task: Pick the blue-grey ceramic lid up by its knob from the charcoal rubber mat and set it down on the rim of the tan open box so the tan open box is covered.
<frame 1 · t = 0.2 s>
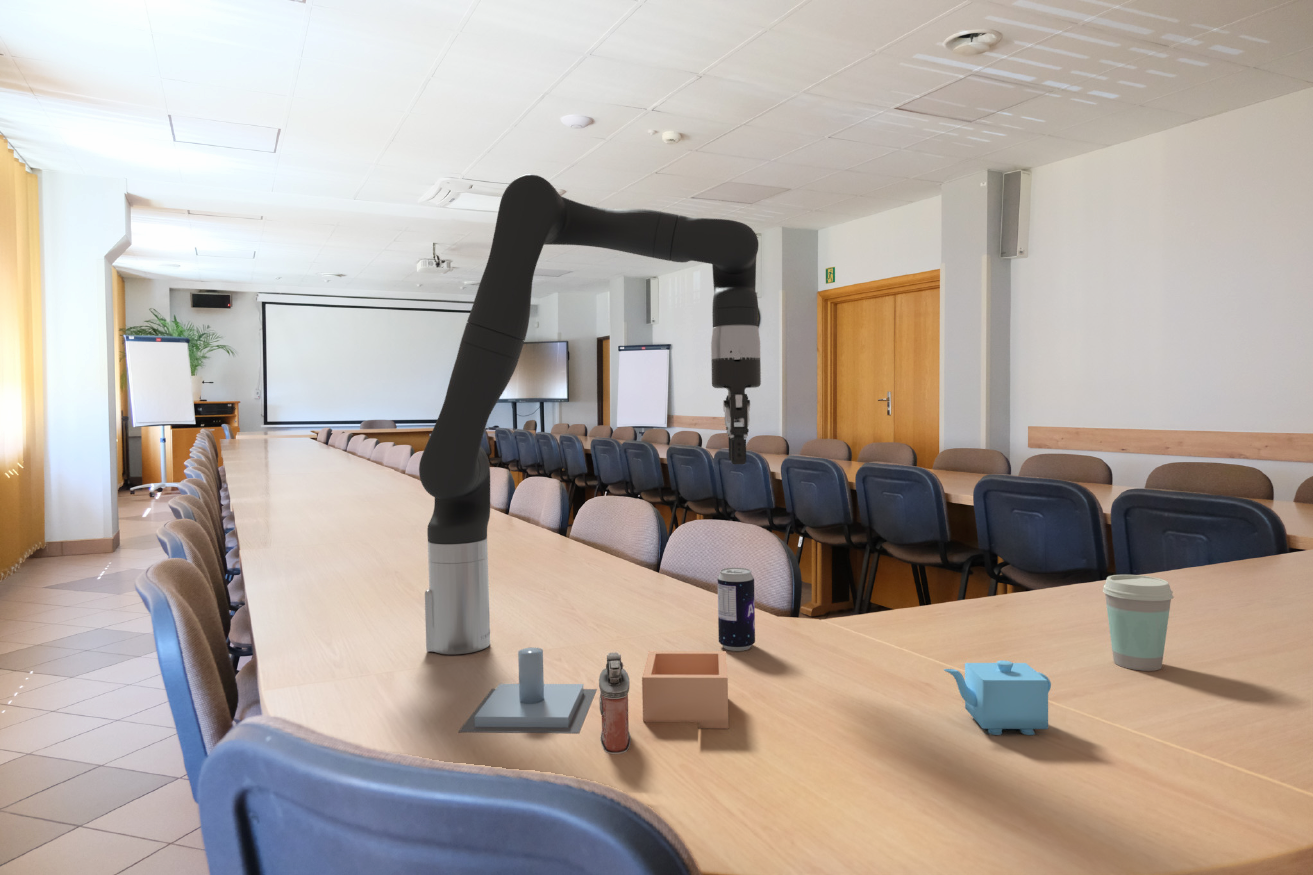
hand: (737, 462, 122), 29 cm above the table, fingers open, 8 cm apart
coffee cup: (1137, 665, 111), on the table
beverage can: (736, 648, 123), on the table
lid: (532, 709, 97), point 1 cm above the table, touching mat
mat: (532, 715, 97), on the table
tan open box: (686, 711, 97), on the table
teapot: (996, 727, 91), on the table
lighter: (615, 746, 88), on the table
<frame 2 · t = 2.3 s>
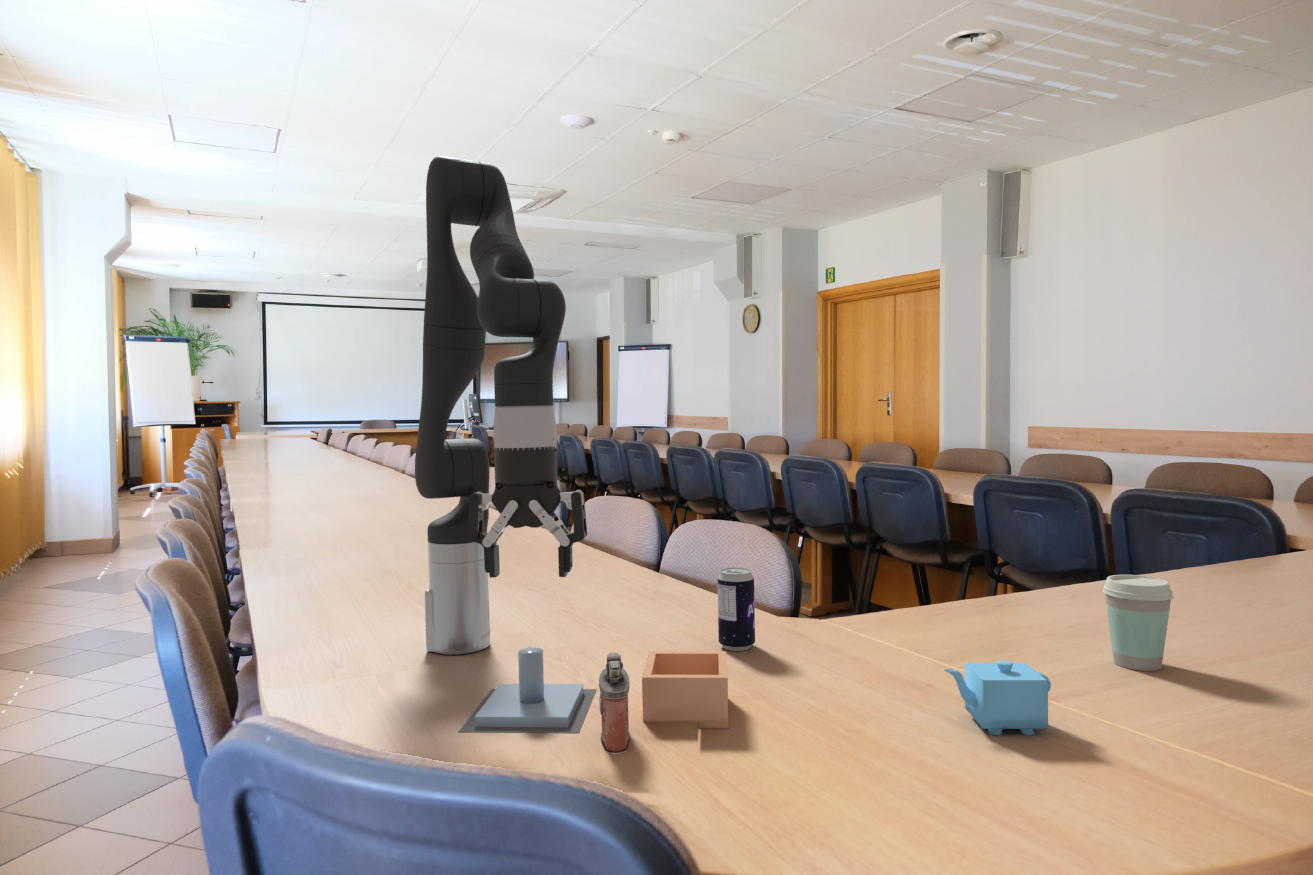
hand: (529, 576, 97), 17 cm above the table, fingers open, 8 cm apart
nothing on the table moved.
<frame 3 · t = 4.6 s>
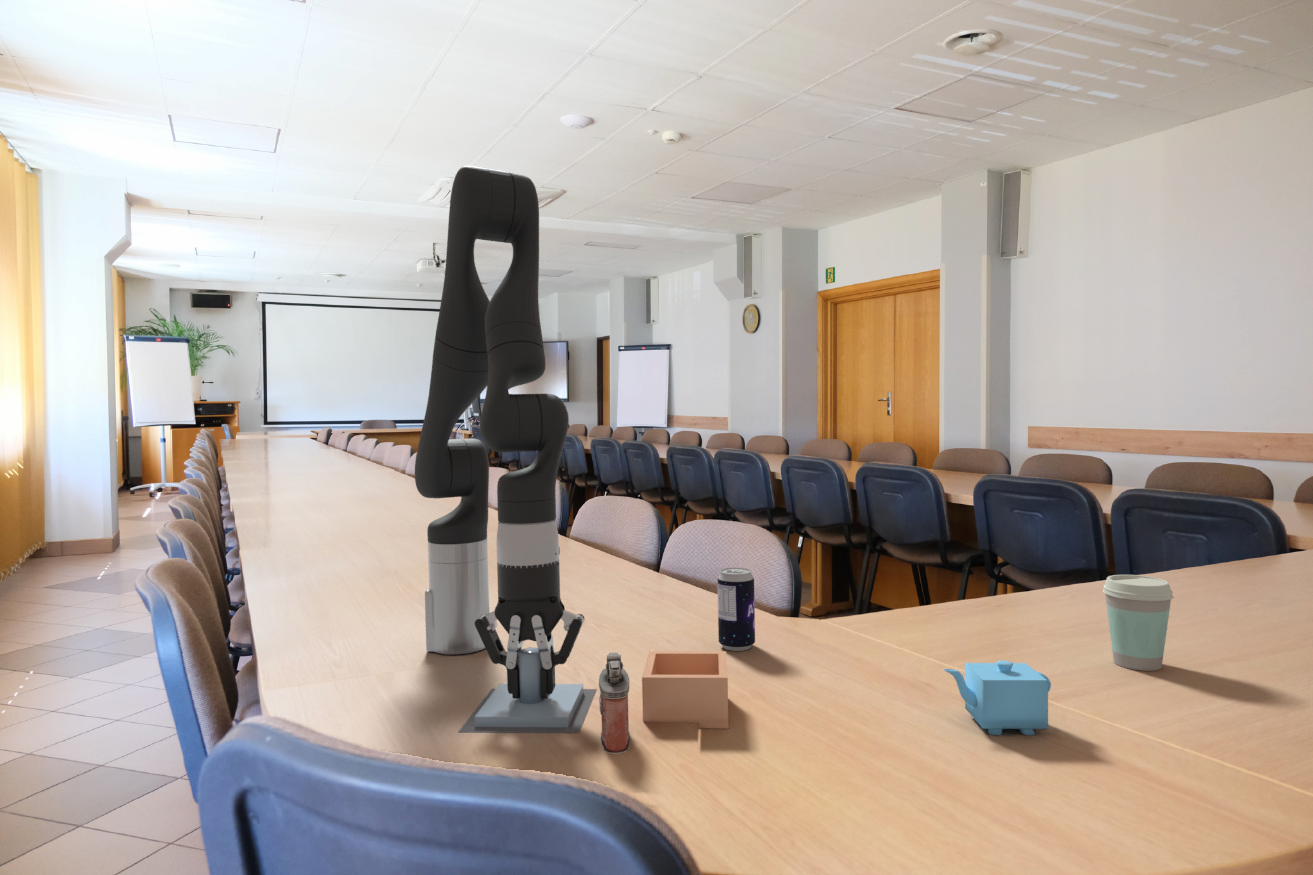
hand: (531, 695, 97), 2 cm above the table, fingers closed on lid, 3 cm apart
lid: (532, 709, 97), point 1 cm above the table, touching gripper, mat
everything else where it was.
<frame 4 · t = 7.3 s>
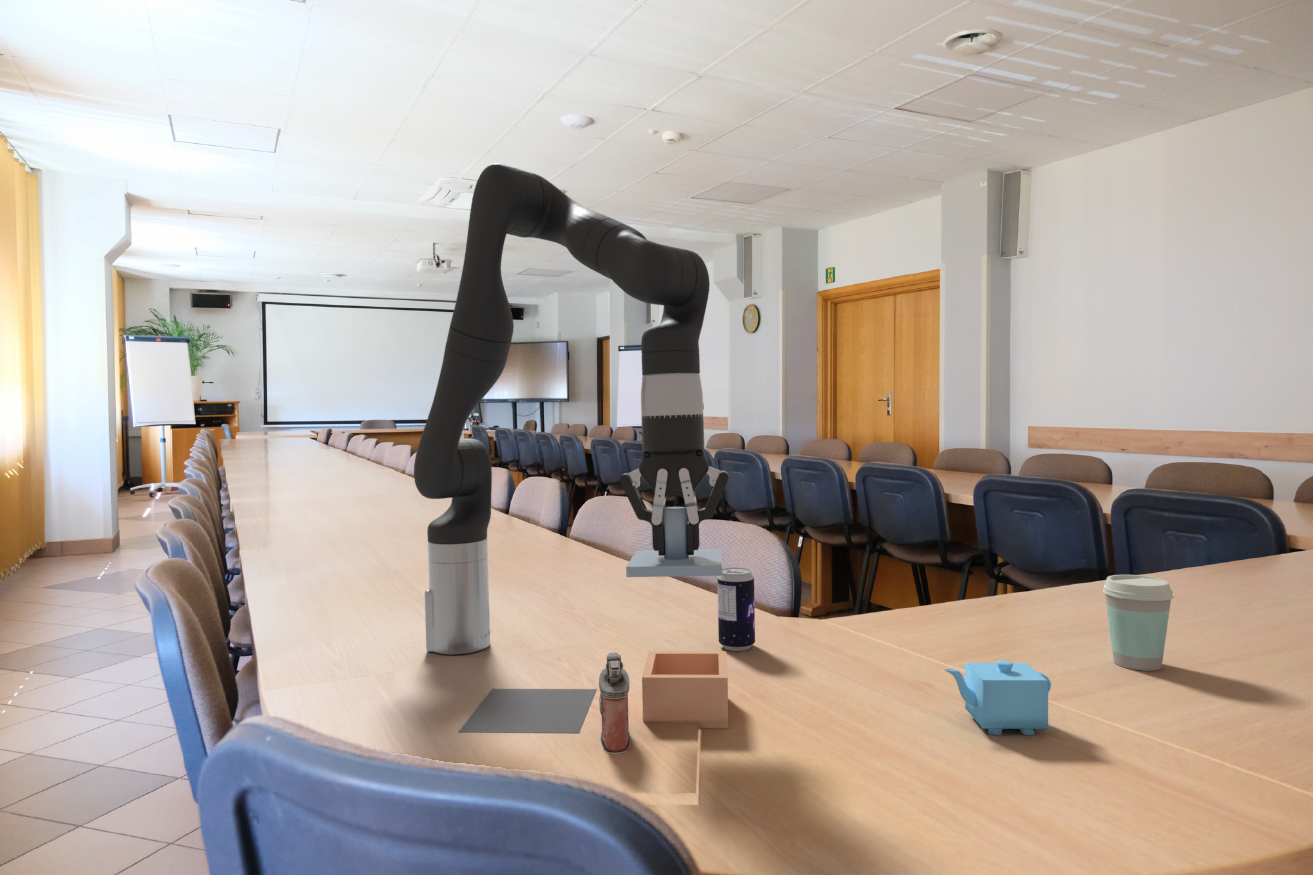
hand: (676, 553, 96), 20 cm above the table, fingers closed on lid, 3 cm apart
lid: (676, 567, 96), point 18 cm above the table, touching gripper
everything else where it was.
when the fingers open (9 cm above the table, at t = 10.1 s): lid stays where it is, resting on tan open box.
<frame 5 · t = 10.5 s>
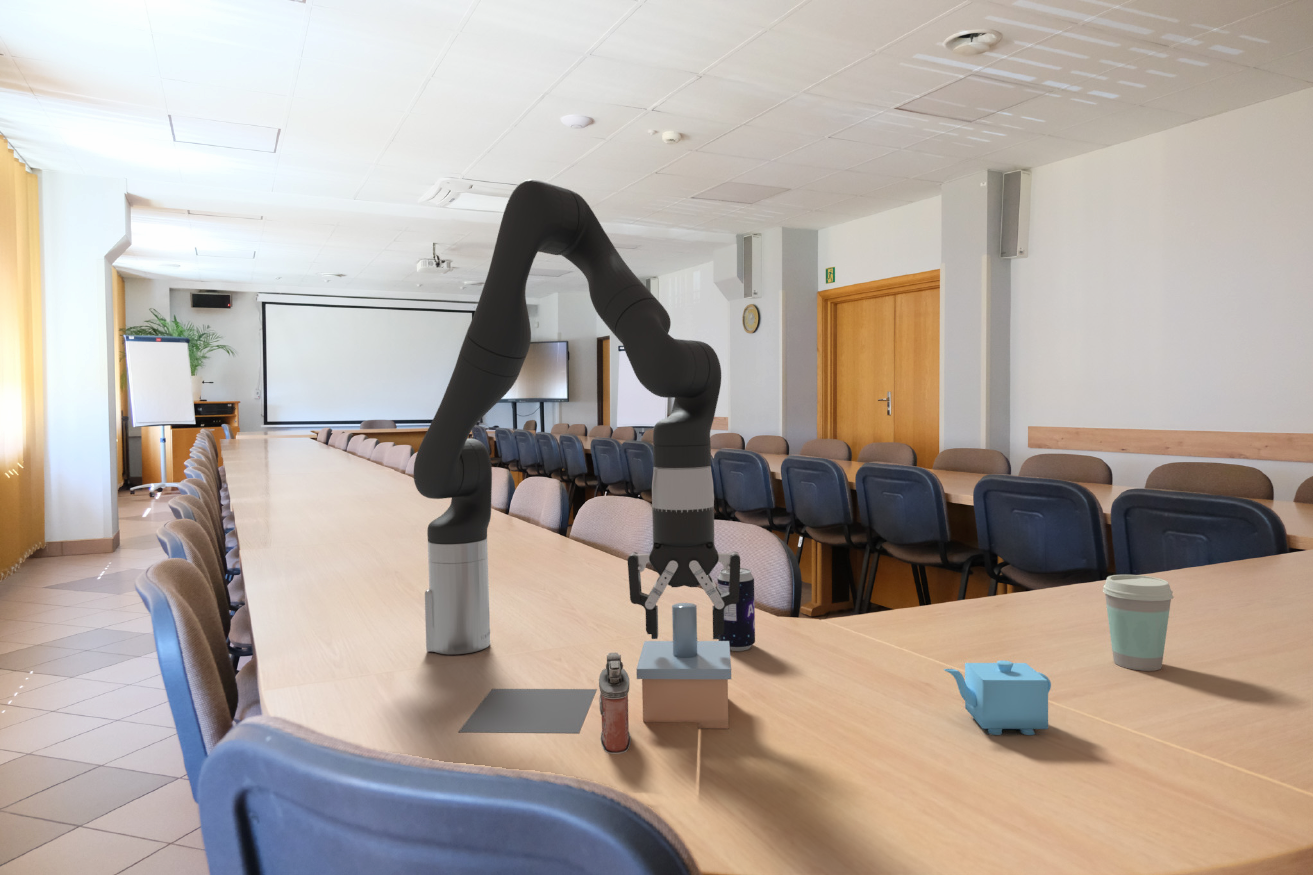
hand: (685, 637, 97), 9 cm above the table, fingers open, 7 cm apart
lid: (685, 663, 97), point 6 cm above the table, touching tan open box
everything else where it was.
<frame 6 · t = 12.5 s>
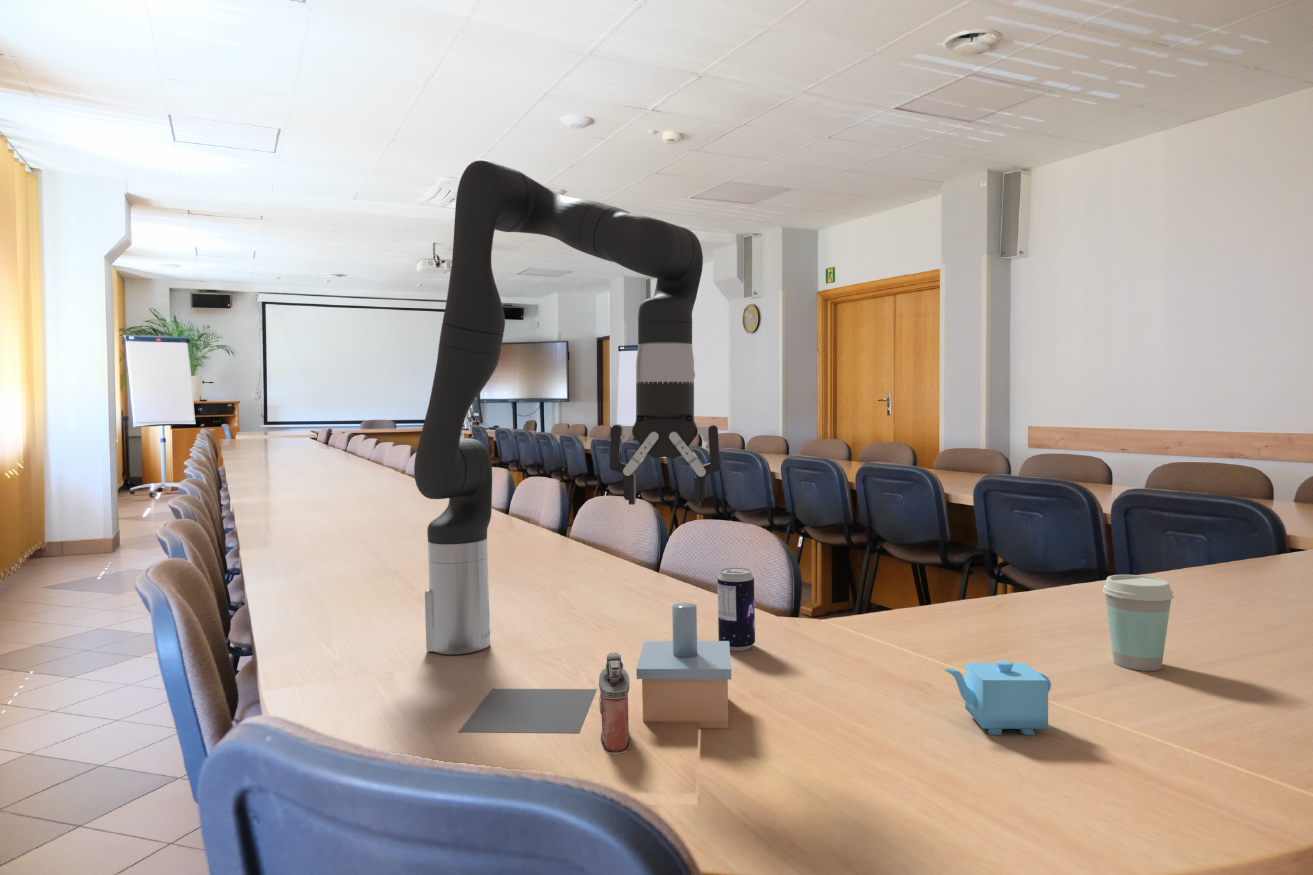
hand: (664, 504, 103), 25 cm above the table, fingers open, 8 cm apart
nothing on the table moved.
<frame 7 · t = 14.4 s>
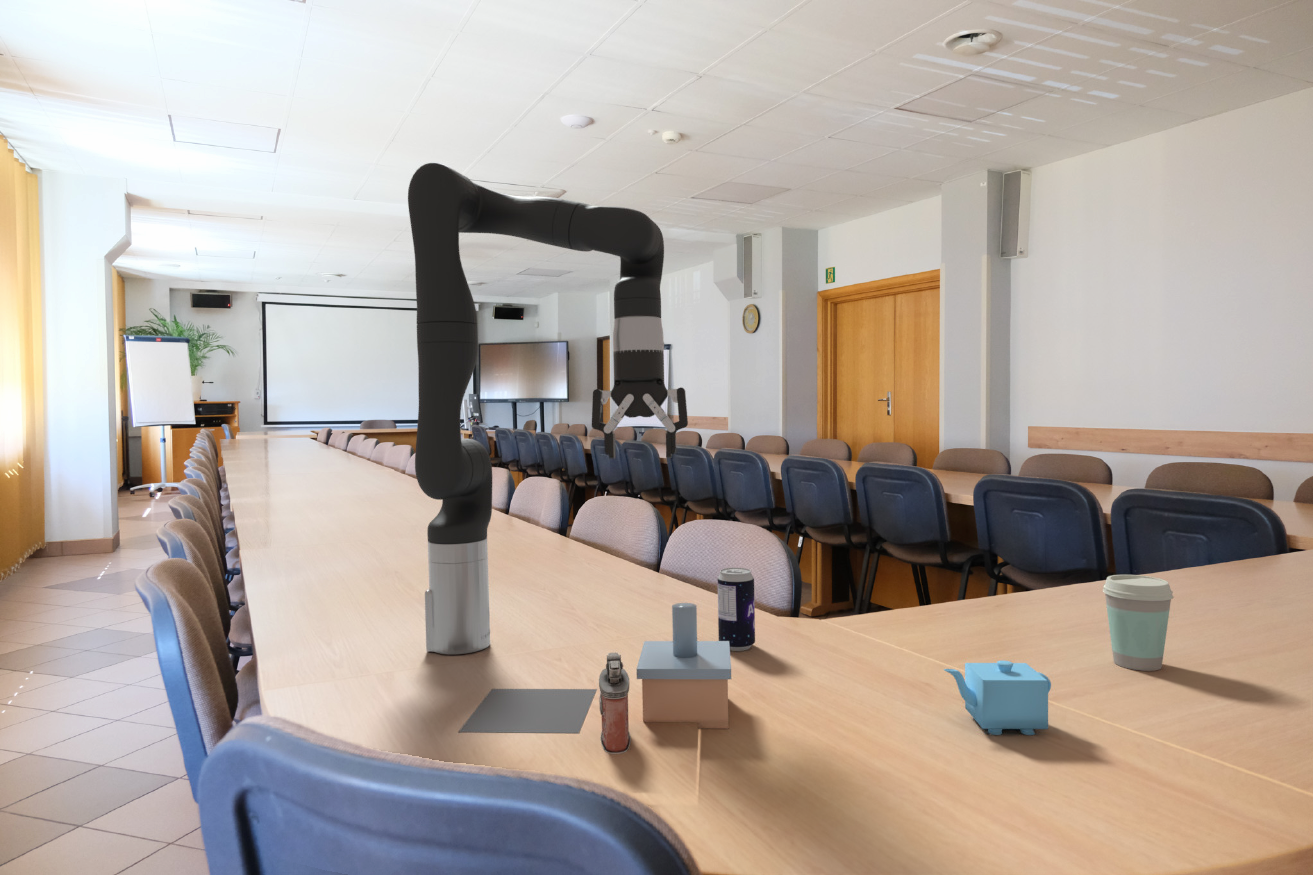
hand: (640, 458, 118), 30 cm above the table, fingers open, 8 cm apart
nothing on the table moved.
at the end: lid 0.1 cm off-centre on the tan open box, point 6.0 cm above the tan open box's base; lid tilted 0°; the gripper is holding nothing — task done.
